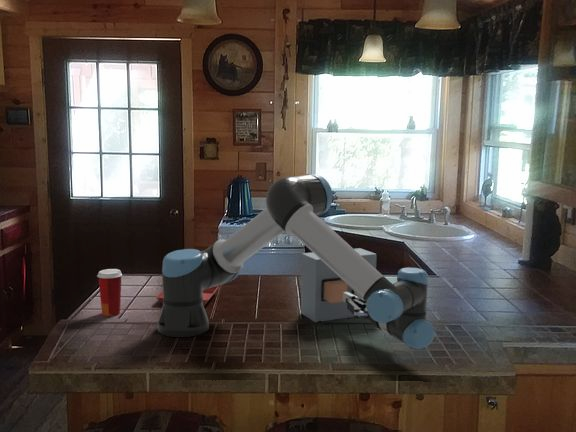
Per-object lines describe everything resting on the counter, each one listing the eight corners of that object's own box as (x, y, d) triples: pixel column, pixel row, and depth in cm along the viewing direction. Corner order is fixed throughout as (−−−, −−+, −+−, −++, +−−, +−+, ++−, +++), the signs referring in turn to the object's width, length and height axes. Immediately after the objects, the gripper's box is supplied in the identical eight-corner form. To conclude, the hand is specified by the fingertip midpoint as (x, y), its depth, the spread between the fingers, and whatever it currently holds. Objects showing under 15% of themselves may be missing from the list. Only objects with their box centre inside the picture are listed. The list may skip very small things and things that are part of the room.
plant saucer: (219, 294, 228) (219, 285, 228) (208, 308, 211) (207, 299, 210) (170, 292, 230) (170, 283, 230) (155, 306, 212) (155, 297, 212)
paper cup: (125, 310, 207) (124, 268, 205) (120, 317, 199) (119, 274, 197) (101, 310, 207) (100, 268, 205) (95, 317, 199) (93, 274, 197)
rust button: (323, 299, 196) (323, 281, 195) (338, 297, 199) (339, 280, 198) (331, 303, 192) (331, 285, 191) (347, 301, 194) (347, 283, 193)
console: (300, 313, 205) (301, 253, 202) (358, 305, 215) (360, 248, 212) (315, 322, 196) (316, 259, 193) (374, 313, 206) (376, 254, 203)
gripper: (367, 335, 167) (325, 310, 188) (408, 328, 172) (362, 305, 193) (368, 307, 166) (326, 286, 187) (409, 302, 171) (363, 282, 192)
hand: (344, 296), depth 190 cm, fingers closed
